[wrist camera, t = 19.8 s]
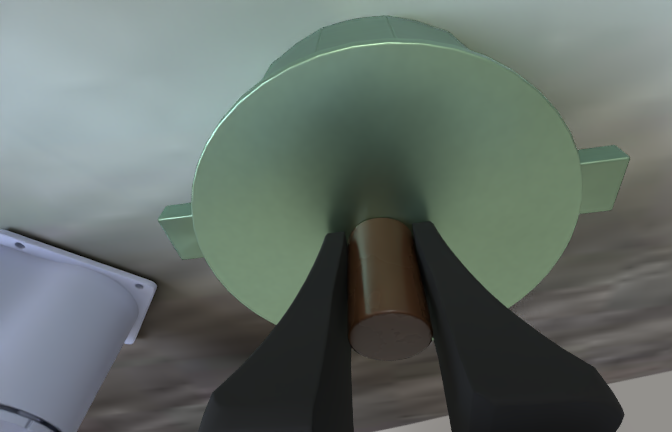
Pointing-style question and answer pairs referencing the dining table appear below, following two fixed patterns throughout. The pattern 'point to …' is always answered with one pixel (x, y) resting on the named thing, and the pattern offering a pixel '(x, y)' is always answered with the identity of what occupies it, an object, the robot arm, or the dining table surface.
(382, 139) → the lid
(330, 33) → the pot
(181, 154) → the dining table surface
